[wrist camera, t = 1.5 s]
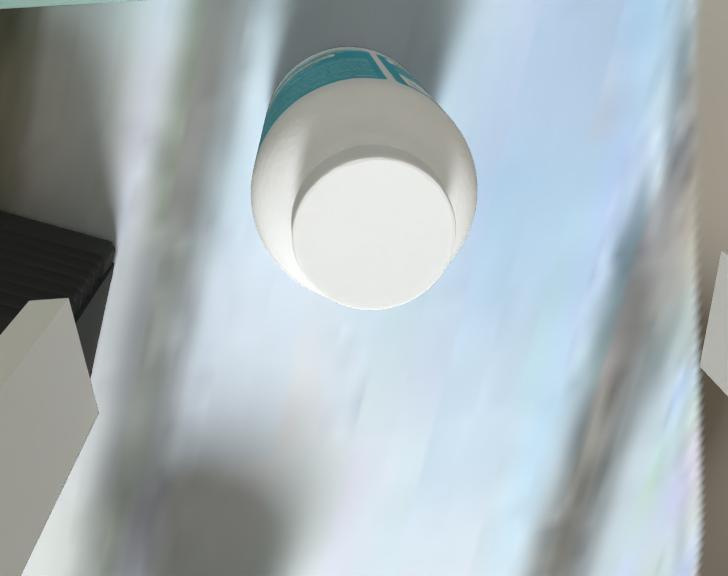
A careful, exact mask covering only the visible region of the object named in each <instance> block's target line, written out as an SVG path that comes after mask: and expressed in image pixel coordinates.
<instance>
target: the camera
mask: <svg viewBox="0 0 728 576" xmlns="http://www.w3.org/2000/svg"><path fill="white" fill-rule="evenodd" d="M114 250H115V247H114V245H113V244H112V243H111V242H110V241H106V240H103V239H99V238H95V237H92V236H88V235H85V234H81V233H77V232H74V231H70V230H66V229H63V228H59V227H56V226H52V225H48V224H45V223H41V222H38V221H34V220H30V219H27V218H23V217H19V216H16V215H12V214H9V213H5V212H1V211H0V335H1V334H2V332H3V331H4V330H5V329H6V328H7V326H8V325H9V324H10V323H11V322H12V321H13V319H14V318H15V317H16V316H17V315H18V313H19V312H20V311H21V310H22V309H23V307H24V306H25V305H26V304H27V303H28V302H29V301H33V300H47V299H60V298H69V301H70V305H71V309H72V313H73V317H74V320H75V324H76V328H77V332H78V335H79V339H80V343H81V347H82V351H83V354H84V358H85V362H86V366H87V369H88V373H89V377H90V378H91V373H92V367H93V362H94V357H95V352H96V348H97V343H98V338H99V334H100V329H101V324H102V320H103V315H104V310H105V305H106V301H107V296H108V291H109V287H110V282H111V279H112V274H113V267H114V263H113V262H112V260H113V255H114Z"/></svg>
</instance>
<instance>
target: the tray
mask: <svg viewBox="0 0 728 576" xmlns="http://www.w3.org/2000/svg"><path fill="white" fill-rule="evenodd" d="M125 1H142V0H0V9H6V8H23V7H40V6H57V5H74V4H91V3H108V2H125Z"/></svg>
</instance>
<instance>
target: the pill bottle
mask: <svg viewBox="0 0 728 576" xmlns="http://www.w3.org/2000/svg"><path fill="white" fill-rule="evenodd" d="M476 203H477V177H476V170H475V165H474V161H473V158H472V155H471V152H470V149H469V147H468V145H467V143H466V141H465V138H464V137H463V135H462V133H461V132H460V130H459V129H458V127H457V126H456V124H455V123H454V122H453V120H452V119H451V118H450V117H449V116H448V115H447V114H446V113H445V111H444V110H443V109H442V108H441V107H440V106H439V105H438V104H437V103H436V101H435V100H434V99H433V98H432V97H431V96H430V95H429V94H428V93H427V92H426V91H425V90H424V88H423V87H422V86H421V85H420V84H419V83H418V82H417V81H416V80H415V78H414V77H413V76H412V75H411V74H410V73H409V72H408V71H407V70H406V69H405V68H404V67H402V66H401V65H400V64H399V63H397V62H396V61H394V60H393V59H391V58H390V57H388V56H385V55H383V54H381V53H379V52H376V51H373V50H370V49H365V48H358V47H338V48H332V49H328V50H324V51H321V52H319V53H316V54H314V55H312V56H310V57H308V58H306V59H305V60H303V61H302V62H300V63H299V64H298V65H296V66H295V67H294V68H293V69H292V70H291V71H290V72H289V73H288V74H287V75H286V76H285V77H284V78H283V80H282V81H281V82H280V84H279V85H278V87H277V89H276V90H275V92H274V94H273V96H272V98H271V101H270V104H269V107H268V110H267V113H266V117H265V122H264V126H263V131H262V135H261V139H260V143H259V148H258V152H257V156H256V160H255V165H254V169H253V175H252V183H251V204H252V211H253V217H254V221H255V224H256V228H257V230H258V233H259V235H260V238H261V240H262V242H263V244H264V246H265V248H266V249H267V251H268V252H269V254H270V255H271V257H272V258H273V259H274V261H275V262H276V263H277V264H278V265H279V267H280V268H281V269H282V270H283V271H284V272H285V273H286V274H288V275H289V276H290V277H291V278H292V279H294V280H295V281H296V282H297V283H299V284H301V285H302V286H304V287H305V288H307V289H309V290H311V291H313V292H315V293H317V294H320V295H322V296H325V297H327V298H328V299H330V300H332V301H334V302H336V303H339V304H341V305H344V306H347V307H350V308H355V309H362V310H380V309H387V308H391V307H395V306H399V305H402V304H404V303H406V302H409V301H411V300H413V299H415V298H416V297H418V296H419V295H421V294H422V293H424V292H425V291H426V290H427V289H429V288H430V287H431V286H432V285H433V284H434V283H435V282H436V280H437V279H438V278H439V277H440V275H441V274H442V273H443V271H444V270H445V268H446V266H447V265H448V264H449V263H450V262H451V261H452V259H453V258H454V257H455V256H456V254H457V253H458V251H459V250H460V248H461V246H462V245H463V243H464V241H465V239H466V237H467V235H468V233H469V231H470V228H471V225H472V222H473V219H474V215H475V210H476Z"/></svg>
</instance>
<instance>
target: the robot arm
mask: <svg viewBox="0 0 728 576" xmlns="http://www.w3.org/2000/svg"><path fill="white" fill-rule="evenodd" d="M700 367H701V368H702V369H703V370H704V371H705V372H706V373H707V374H708V375H709V377H710V378H711V379H712V380H713V381H714V382H715V383H716V384H717V385H718V386H719V387H720V388H721V389H722V390H723V391H724V392H725V394H726V395H727V396H728V250H726V251H721V257H720V262H719V268H718V273H717V278H716V283H715V289H714V294H713V299H712V305H711V310H710V315H709V320H708V326H707V331H706V336H705V342H704V347H703V352H702V358H701V363H700ZM98 414H99V411H98V407H97V403H96V400H95V396H94V392H93V388H92V384H91V381H90V377H89V373H88V369H87V366H86V362H85V358H84V354H83V351H82V347H81V343H80V339H79V335H78V332H77V328H76V324H75V320H74V317H73V313H72V309H71V305H70V301H69V298H60V299H47V300H33V301H29V302H28V303H27V304H26V305H25V306H24V307H23V309H22V310H21V311H20V312H19V313H18V315H17V316H16V317H15V318H14V319H13V321H12V322H11V323H10V324H9V325H8V326H7V328H6V329H5V330H4V331H3V332H2V334H1V335H0V576H21V574H22V572H23V570H24V568H25V566H26V564H27V562H28V560H29V558H30V555H31V553H32V551H33V549H34V547H35V545H36V543H37V541H38V539H39V537H40V535H41V533H42V530H43V528H44V526H45V524H46V522H47V520H48V518H49V516H50V514H51V512H52V510H53V508H54V506H55V503H56V501H57V499H58V497H59V495H60V493H61V491H62V489H63V487H64V485H65V483H66V481H67V478H68V476H69V474H70V472H71V470H72V468H73V466H74V464H75V462H76V460H77V458H78V456H79V454H80V451H81V449H82V447H83V445H84V443H85V441H86V439H87V437H88V435H89V433H90V431H91V429H92V426H93V424H94V422H95V420H96V418H97V416H98Z"/></svg>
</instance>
